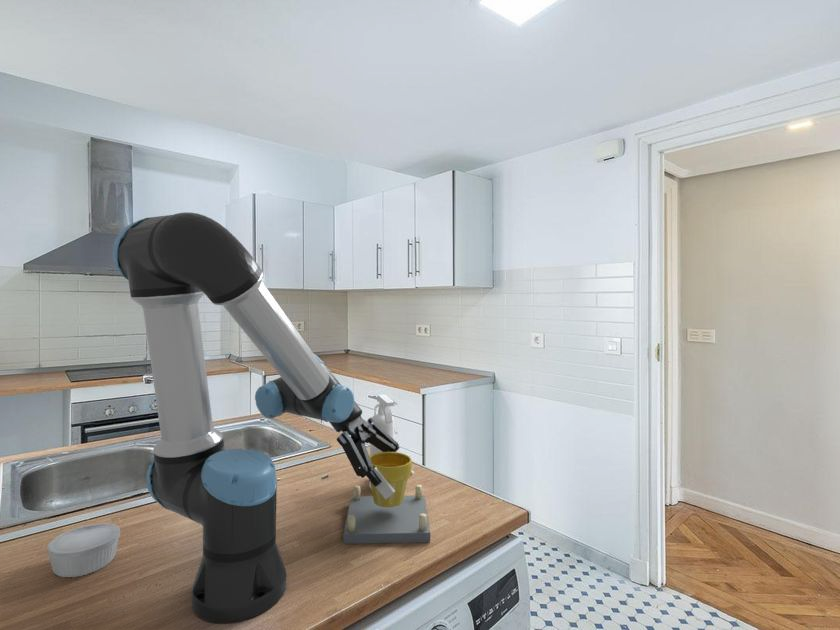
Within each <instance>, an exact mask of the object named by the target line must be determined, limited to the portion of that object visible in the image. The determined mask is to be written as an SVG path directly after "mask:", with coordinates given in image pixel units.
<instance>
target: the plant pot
mask: <svg viewBox="0 0 840 630" xmlns="http://www.w3.org/2000/svg"><path fill="white" fill-rule="evenodd" d="M369 457H370V460H371V463H372V466H373V469H374V468H375V467H377V469H378V470H379V471H380V472H381V474H382V475H383V476H384V477H385V479H386V480H387V481H388V482H389V484H390V485H391V486H392V488H393V489H394V490H395V492H394V493H393V494H392V495H391V496H389V497H388V498H387V499H386V500H385V498H384V497H383V496H382V494H381V493H380V492H379V491H378V489H377V488H376V487H375V486H374V485H373V484H372V482H371V481H370V480H369V486H370V485H371V488H370V489H371V494H372V495H371V496H373V500H374V503H375V504H376V505H378V506H381V507H395V506H398V505H400V504H401V503H402V502H403V498H404V496H405V492H406V488H407V484H408V479H409V478H410V477H411V476H410V475H411V469H412V468H413V467H412V465H413V460H412V458H411V456H409V455H408V454H406V453H402V452H398V451H397V452H380V453H375V454H372V455H370V454H369ZM412 470H413V469H412ZM409 476H410V477H409ZM408 477H409V478H408Z"/></svg>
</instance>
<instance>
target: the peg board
mask: <svg viewBox="0 0 840 630" xmlns="http://www.w3.org/2000/svg"><path fill="white" fill-rule="evenodd" d="M414 489H415V492H414V493H415V495H404V498H403V502H402V503H401V504H400V505H398V506H395V507H381V506H378V505H376V504H375V503H374V500H373V495H363V496H361V486H360V485H354V486H353V496H351V497H350V501H349V507H348V511H347V515H346V521H345V526H344V531H343V544H344V545H350V544H357V545H358V544H396V543H397V544H398V543H399V544H400V543H402V544H404V543H430V542H431V529H430V523H429V522H430V521H429V516H428V510H427V503H426V497H425V495H423V486H422V484H416V485H415V488H414Z"/></svg>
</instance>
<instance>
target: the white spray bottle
mask: <svg viewBox="0 0 840 630" xmlns="http://www.w3.org/2000/svg"><path fill="white" fill-rule="evenodd" d="M376 401H377V402H378V403H376V405H375V406H374V415H373V416H372V417H371V418H373V420H374V421H375V422H376V424H377V425H378V426H379V427H381V428H382V429H383V430H384V431H385V432H386V433H387V434H388V435H389V436H390V437H392V438H393V439H394V440H395V424H396V423H395V419H394V417H393V415H392V408H391V407H395V401H393V400H392V399H391V398H390V397H389V396H387V395H386V394H385V393H384V394H377V398H376ZM392 445H393V444H392ZM380 452H382V451H381V450H379V449H378V448H376V447H375V446H373V445H372V444H370V443H369V456H370V455H372V454H375V453H380ZM369 488H370V489H371V485H370V484H369Z"/></svg>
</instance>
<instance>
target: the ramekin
mask: <svg viewBox="0 0 840 630" xmlns="http://www.w3.org/2000/svg"><path fill="white" fill-rule="evenodd" d="M120 536H121V529H120V526H119V525H117V524H113V523H95V524H94V523H93V524H88V525H87V524H86V525H82V526H78V527H76V528H72V529H70V530H67V531H64V532H62V533H60V534H59V535H57V536H56V537H54V538H52V540H50V541H49V543H48V544H47V547H46V552H47V555H48V557H49V561H50V562H49V563H50V565H51V570H52V572H53V573H54V574H55V575H57V576H58V577H61V578H65V577H72V578H79V577H84V576H88V575H90V574H93V573H95V572H97V570H98V571H100V570H101V568H102V569H103V568H105V567H106V566H108V565H109V564H110V563H111V562H112V561H113V559H114V558H115V556H116V554H117V550H118V549H117V548H118V543H119V537H120ZM99 569H100V570H99ZM92 572H93V573H92ZM89 573H90V574H89ZM83 575H84V576H83ZM78 576H79V577H78Z"/></svg>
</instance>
